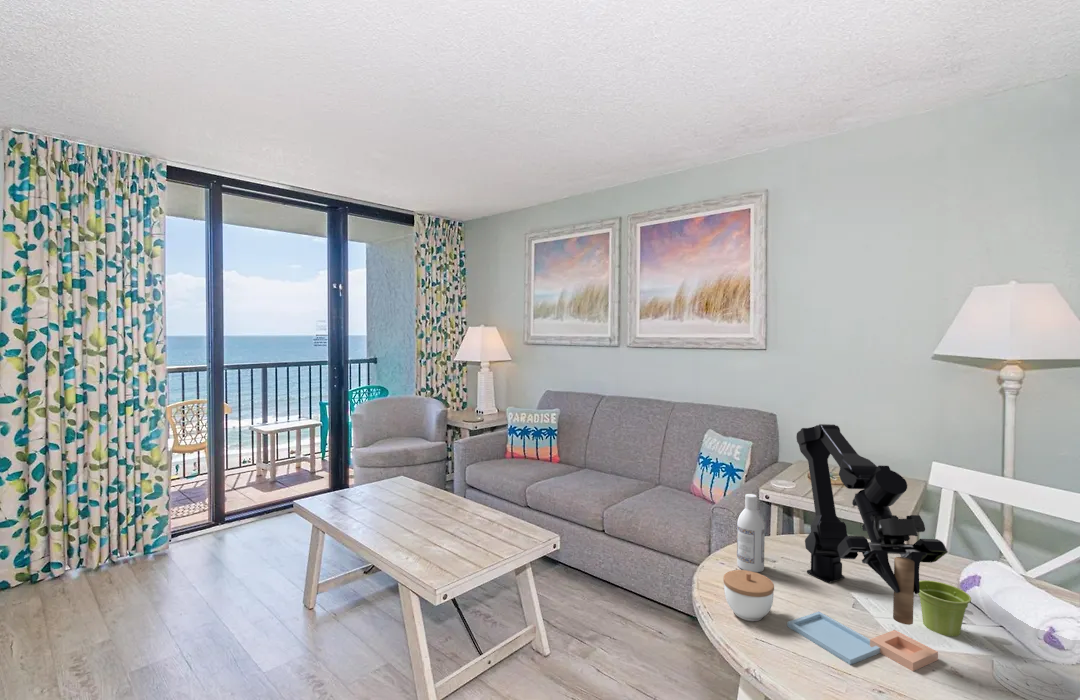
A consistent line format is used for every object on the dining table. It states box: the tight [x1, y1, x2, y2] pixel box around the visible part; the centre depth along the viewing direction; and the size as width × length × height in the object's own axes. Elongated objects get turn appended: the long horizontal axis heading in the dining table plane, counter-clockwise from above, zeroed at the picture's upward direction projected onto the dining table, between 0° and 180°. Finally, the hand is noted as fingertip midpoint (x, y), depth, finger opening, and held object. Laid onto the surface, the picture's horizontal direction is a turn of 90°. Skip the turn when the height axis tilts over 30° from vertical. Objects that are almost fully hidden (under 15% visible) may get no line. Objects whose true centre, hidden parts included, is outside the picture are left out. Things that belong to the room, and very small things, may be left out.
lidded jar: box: [723, 569, 775, 622], centre depth 114 cm, size 11×11×9 cm
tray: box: [786, 611, 881, 666], centre depth 104 cm, size 14×10×2 cm
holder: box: [869, 629, 939, 672], centre depth 99 cm, size 8×8×2 cm
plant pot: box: [917, 579, 972, 637], centre depth 108 cm, size 9×9×9 cm
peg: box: [892, 556, 915, 626], centre depth 99 cm, size 3×3×12 cm
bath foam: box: [736, 493, 766, 573], centre depth 137 cm, size 7×7×20 cm
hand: (907, 592), depth 97 cm, fingers closed on peg, 3 cm apart
